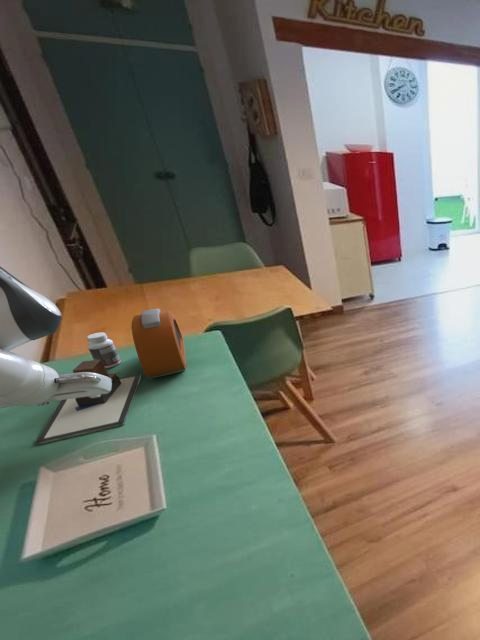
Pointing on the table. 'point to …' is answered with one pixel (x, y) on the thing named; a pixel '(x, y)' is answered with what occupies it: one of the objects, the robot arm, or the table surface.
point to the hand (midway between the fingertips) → (71, 398)
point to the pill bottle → (103, 349)
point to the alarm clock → (158, 343)
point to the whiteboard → (90, 414)
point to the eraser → (99, 368)
